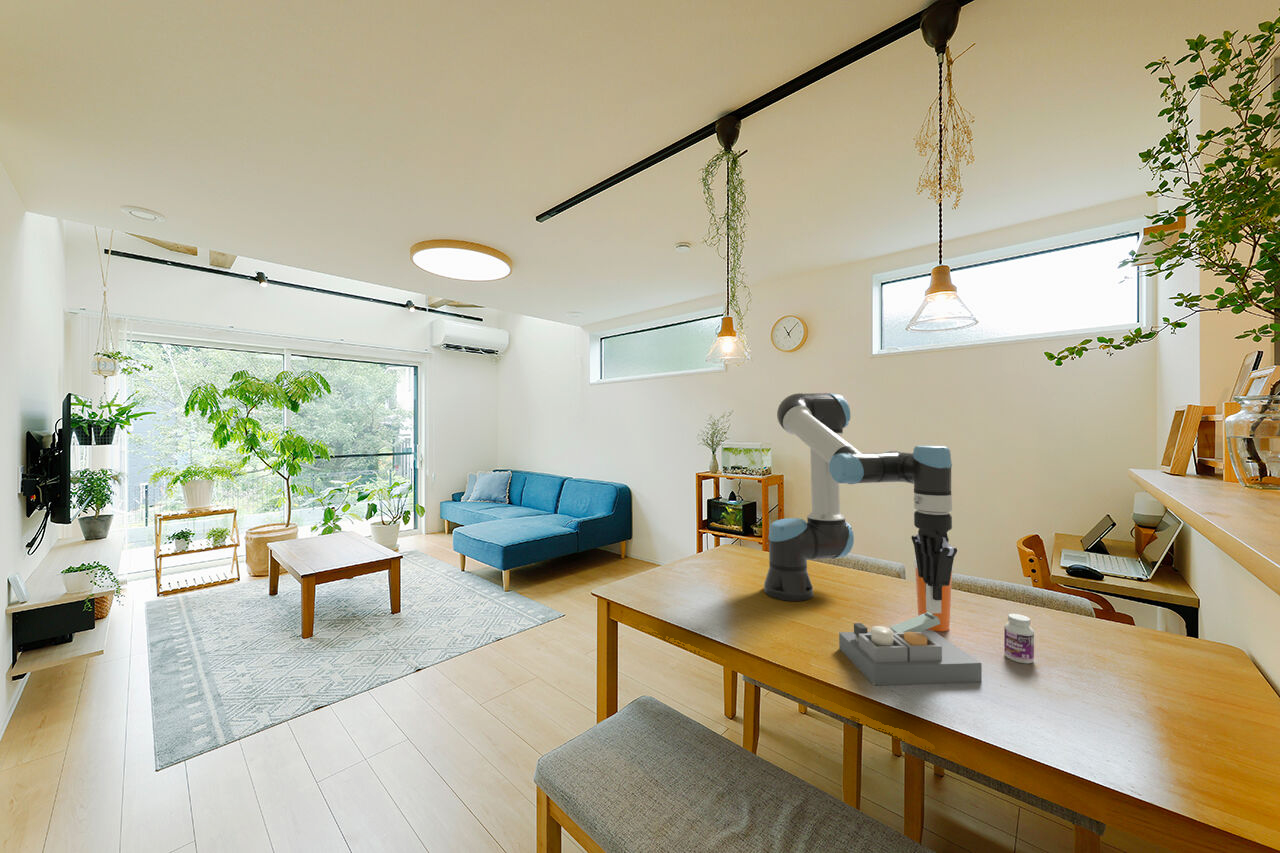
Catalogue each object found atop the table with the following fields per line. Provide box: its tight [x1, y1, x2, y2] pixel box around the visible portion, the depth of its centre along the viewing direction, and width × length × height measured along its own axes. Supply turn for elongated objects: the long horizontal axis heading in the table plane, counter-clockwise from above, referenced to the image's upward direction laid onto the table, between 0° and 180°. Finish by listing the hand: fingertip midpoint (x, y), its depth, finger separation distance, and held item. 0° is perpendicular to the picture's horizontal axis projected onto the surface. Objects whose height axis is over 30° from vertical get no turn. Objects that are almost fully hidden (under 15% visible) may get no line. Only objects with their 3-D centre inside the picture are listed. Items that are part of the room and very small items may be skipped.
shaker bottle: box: [913, 557, 954, 632], centre depth 126 cm, size 9×9×20 cm
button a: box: [870, 625, 894, 646], centre depth 103 cm, size 4×4×3 cm
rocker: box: [889, 612, 940, 633], centre depth 110 cm, size 4×10×2 cm, turn 92°
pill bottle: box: [1003, 613, 1035, 664], centre depth 108 cm, size 5×5×10 cm
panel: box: [838, 629, 983, 686], centre depth 106 cm, size 16×23×7 cm
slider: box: [853, 622, 869, 637], centre depth 110 cm, size 3×2×2 cm, turn 2°
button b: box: [904, 632, 927, 645], centre depth 103 cm, size 4×4×3 cm
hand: (933, 611), depth 110 cm, fingers closed
